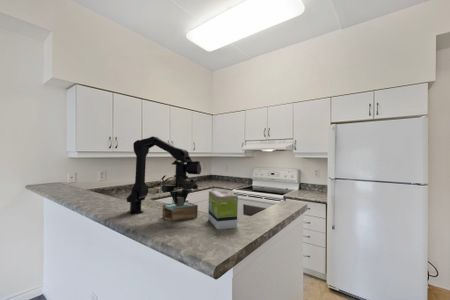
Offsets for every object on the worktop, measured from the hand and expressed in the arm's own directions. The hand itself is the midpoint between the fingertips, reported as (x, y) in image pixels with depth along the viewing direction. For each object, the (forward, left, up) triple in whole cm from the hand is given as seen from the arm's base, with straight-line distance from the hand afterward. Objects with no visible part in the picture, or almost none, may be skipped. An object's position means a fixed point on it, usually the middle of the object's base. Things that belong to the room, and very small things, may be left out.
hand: (179, 203), depth 106 cm
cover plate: (0, 0, -2) cm, 2 cm away
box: (0, +1, -7) cm, 7 cm away
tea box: (+21, +11, -7) cm, 25 cm away
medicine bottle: (-10, +7, -7) cm, 14 cm away
